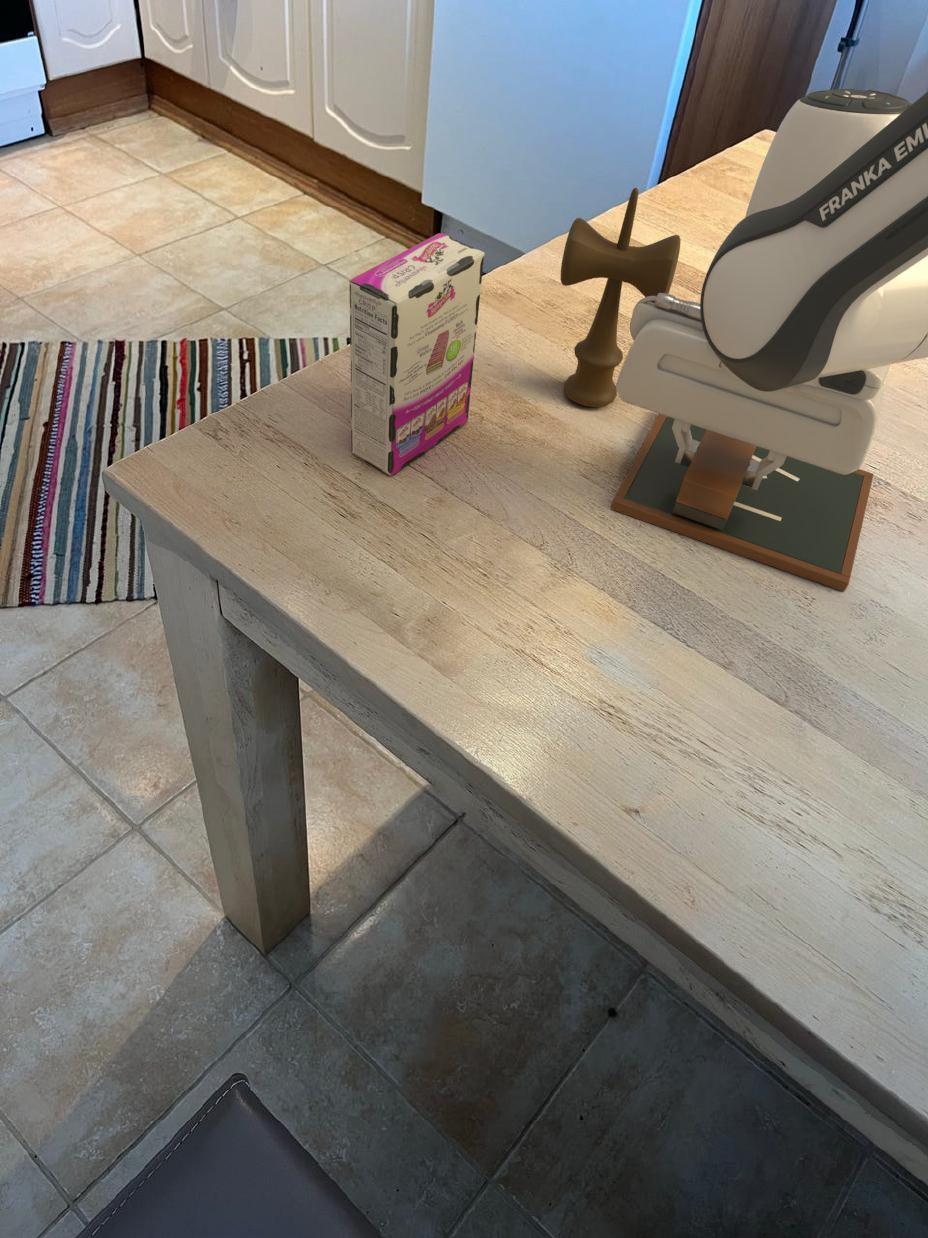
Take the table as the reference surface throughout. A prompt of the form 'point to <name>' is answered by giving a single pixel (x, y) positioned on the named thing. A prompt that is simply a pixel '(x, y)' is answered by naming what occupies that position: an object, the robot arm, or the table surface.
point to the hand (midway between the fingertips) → (717, 472)
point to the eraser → (713, 479)
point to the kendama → (611, 297)
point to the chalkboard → (758, 509)
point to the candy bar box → (412, 350)
